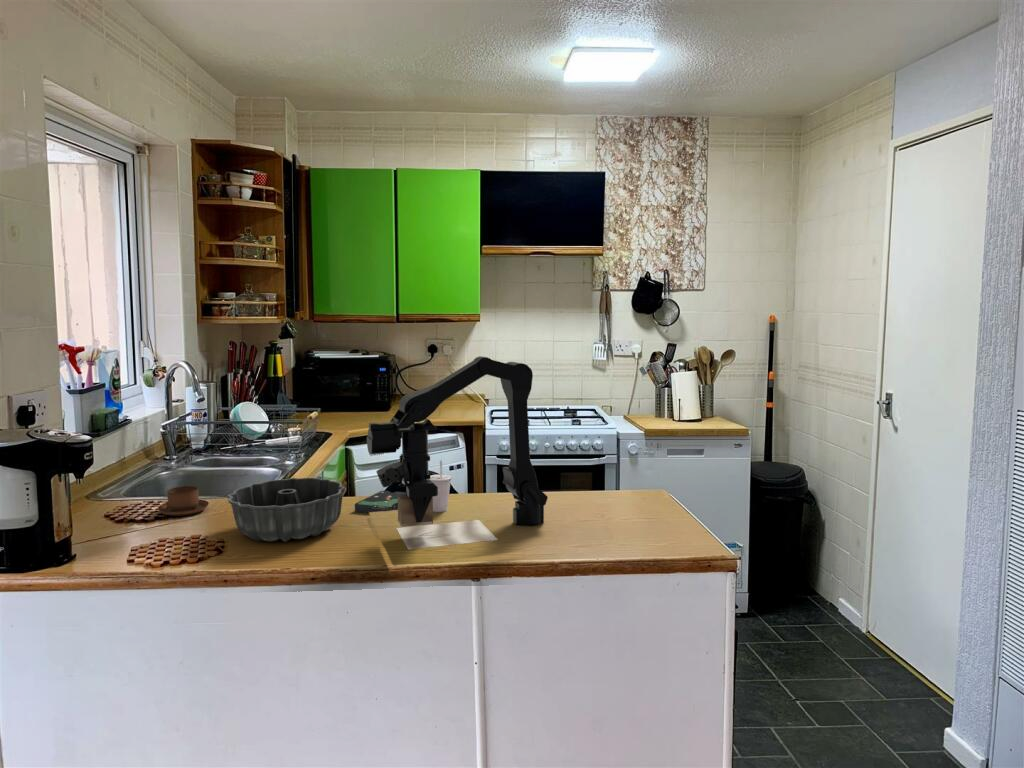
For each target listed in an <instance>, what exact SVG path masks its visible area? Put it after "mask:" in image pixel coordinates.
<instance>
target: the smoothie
mask: <svg viewBox="0 0 1024 768" xmlns="http://www.w3.org/2000/svg"><path fill="white" fill-rule="evenodd" d="M426 480H431V481H432V482H433V483H434V484H435V485H436V486H437V487H438V495H437V496H433V513H434V512H435V513H443V512H447V511H448V507H449V497H450V489H451V482H452V481H453V480H452V476H451V475H449V474H443V460H442V459H441V460H439V474H438V473H437V474H432V475H431V474H430V479H426Z"/></svg>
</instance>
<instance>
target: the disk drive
mask: <svg viewBox="0 0 1024 768" xmlns="http://www.w3.org/2000/svg"><path fill="white" fill-rule="evenodd" d="M405 493H406V492H405V491H404V492H403V491H395V492H390V490H381V491H378V492H376V493H374V494H371V495H370V496H368V497H366V498H364V499H362V500H359V501H357V502H355V503H354V512H355V513H363V514H369V513H378V512H379V513H380V512H387V511H390V512H391V511H398V495H400V494H405Z"/></svg>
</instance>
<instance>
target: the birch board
mask: <svg viewBox="0 0 1024 768" xmlns="http://www.w3.org/2000/svg"><path fill="white" fill-rule="evenodd" d="M396 530H397V532H398V533H399V536H400V538H401V539H402V541H403V543H404V545H405V546H406V548H407V550H408V551H409V550H415V549H425V548H436V547H445V546H455V545H462V544H463V545H465V544H474V543H481V542H492V541H498V538H497V537H496V536H495V535H494V534H493V533H492V532H491V531H490V530H489V529H488V528H487V527H486V526H485V525H484V524H483V523H482V522H481V521H480V520H479V519H475V520H474V519H473V520H466V521H455V522H454V521H452V522H445V523H443V522H442V523H435V524H434V523H433V524H429V525H418V526H406V527H396Z"/></svg>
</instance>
